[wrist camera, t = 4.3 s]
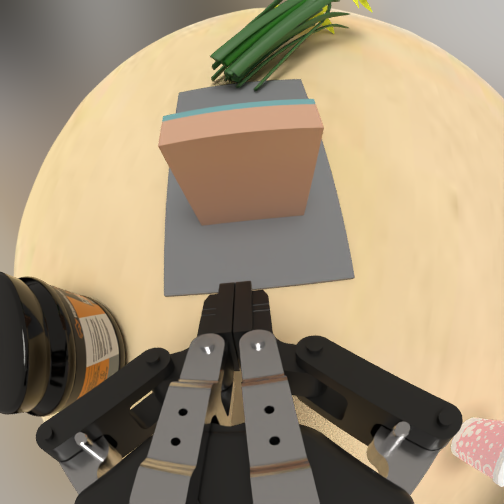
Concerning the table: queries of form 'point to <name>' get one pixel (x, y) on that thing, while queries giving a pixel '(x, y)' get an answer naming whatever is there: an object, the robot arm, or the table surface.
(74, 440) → the robot arm
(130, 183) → the table surface
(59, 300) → the supplement container
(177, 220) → the felt mat
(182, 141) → the tile
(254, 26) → the daffodil flowers
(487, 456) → the beverage cup
